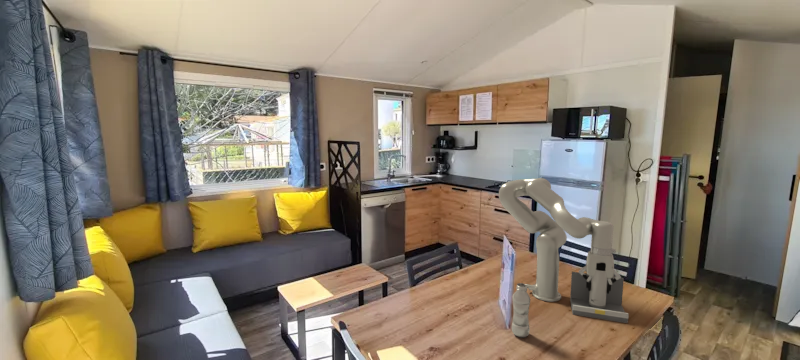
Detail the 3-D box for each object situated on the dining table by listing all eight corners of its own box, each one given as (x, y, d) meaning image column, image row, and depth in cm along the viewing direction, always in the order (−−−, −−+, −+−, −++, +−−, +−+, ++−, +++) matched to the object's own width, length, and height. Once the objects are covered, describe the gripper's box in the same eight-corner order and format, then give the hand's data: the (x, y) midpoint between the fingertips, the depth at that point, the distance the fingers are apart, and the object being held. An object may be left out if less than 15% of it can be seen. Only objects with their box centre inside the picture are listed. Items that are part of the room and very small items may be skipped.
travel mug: (591, 308, 146) (595, 263, 143) (586, 301, 152) (589, 257, 150) (608, 309, 145) (611, 264, 142) (602, 302, 151) (605, 258, 148)
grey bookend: (572, 314, 147) (574, 283, 145) (570, 300, 159) (571, 271, 157) (627, 323, 139) (630, 290, 137) (620, 308, 151) (623, 277, 150)
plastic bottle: (520, 341, 128) (522, 290, 125) (507, 332, 134) (508, 283, 131) (533, 336, 131) (535, 286, 128) (519, 328, 137) (521, 280, 134)
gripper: (622, 250, 146) (619, 290, 148) (577, 245, 152) (574, 284, 154) (627, 256, 139) (623, 298, 141) (578, 250, 145) (576, 291, 148)
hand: (598, 290), depth 148 cm, fingers closed on travel mug, 6 cm apart
